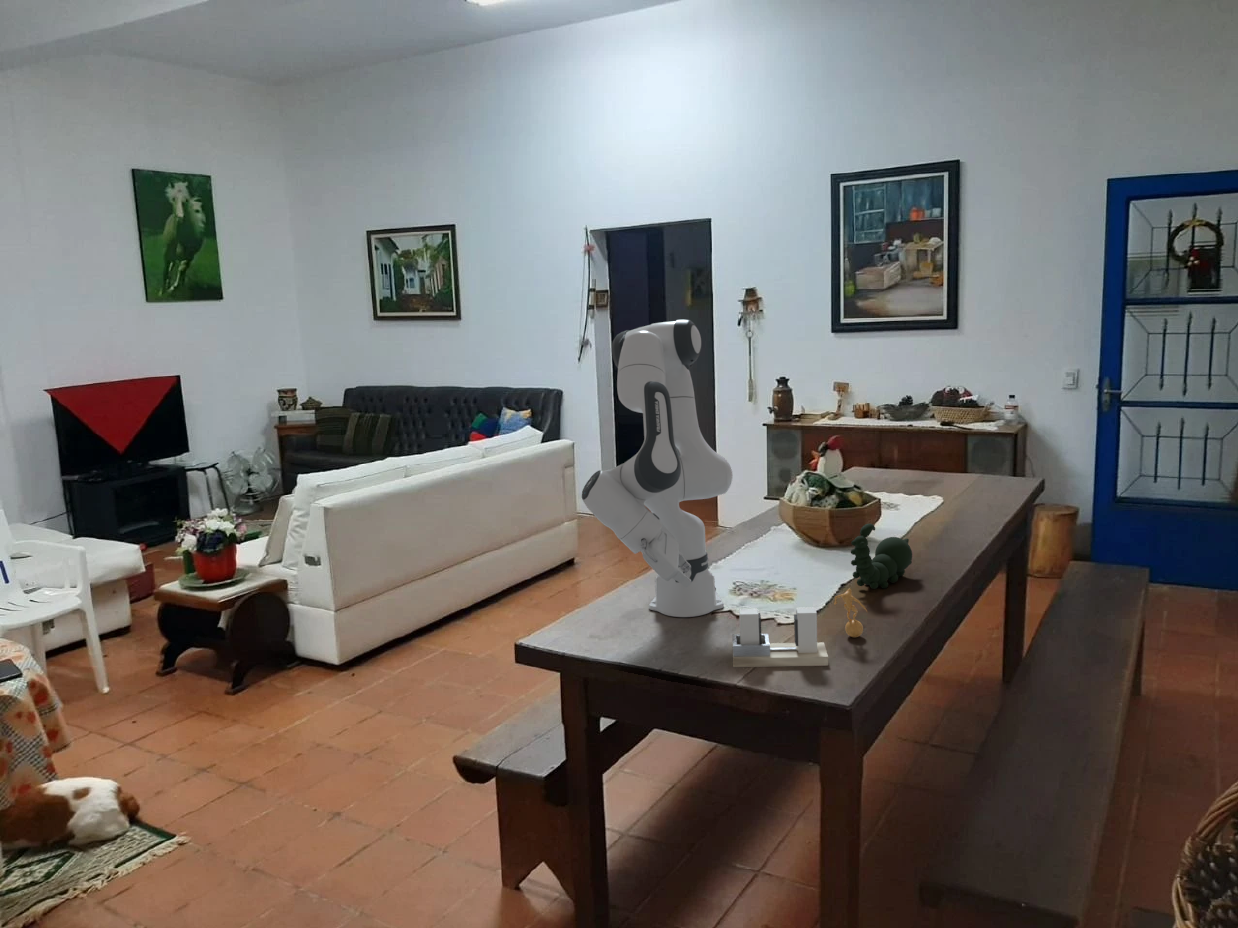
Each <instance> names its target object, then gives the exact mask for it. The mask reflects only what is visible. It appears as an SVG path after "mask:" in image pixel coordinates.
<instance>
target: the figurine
mask: <svg viewBox="0 0 1238 928" xmlns="http://www.w3.org/2000/svg"><path fill="white" fill-rule="evenodd" d="M852 591H853V590H852V589H851V588H847V590H846V591H845V592H844V593H841V594H838V595H836V596H834V601H833V604H834V605H833V606H836V605H837V604H838V602H837V600H838V599H841V598H842V601H843V602H844V604H843V607H844V609H845V610H846V612H847V613H846V617H847V618H846V619H848V621H847V622H846V624H845V627H844V628H845V632H846V634H847V635H848V636H849V637H851V638H859V637H860V636H861V635H862V634H863V632H864V626H863V624H862V623H861V621H859V620H857V619H856V617H857V614H858V613H859V611H858V609H857V608H856V605H854V604H853V601H854V602H856V603H857V604H859V606H860V607H861V608H862V609H864V610H865V611H866V613H868V610H867V608H866V606H865V605H864V604H863V603H861V601H860V600H859V599H857V598H856V597H855V596H853V594H852ZM851 611H852V612H854V613H853V615H852V618H851V617H850V615H851Z"/></svg>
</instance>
